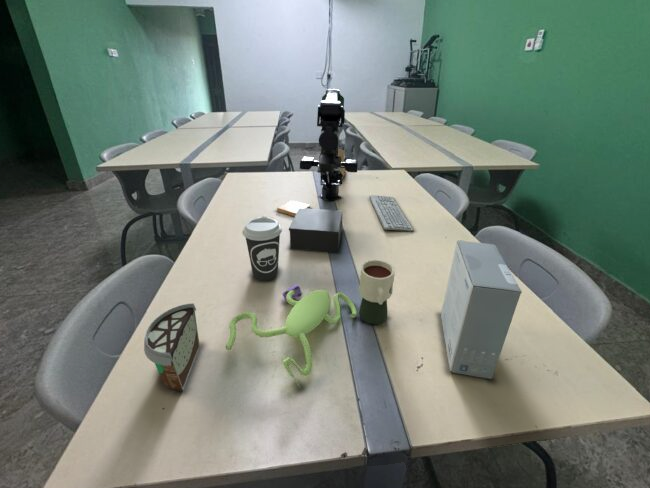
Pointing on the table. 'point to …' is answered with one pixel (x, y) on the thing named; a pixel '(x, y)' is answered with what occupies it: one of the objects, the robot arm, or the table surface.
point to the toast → (292, 207)
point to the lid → (317, 221)
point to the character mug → (375, 290)
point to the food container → (173, 345)
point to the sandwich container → (342, 160)
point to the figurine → (298, 320)
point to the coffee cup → (263, 246)
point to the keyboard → (390, 213)
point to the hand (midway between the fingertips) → (328, 188)
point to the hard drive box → (477, 308)
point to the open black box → (315, 241)
